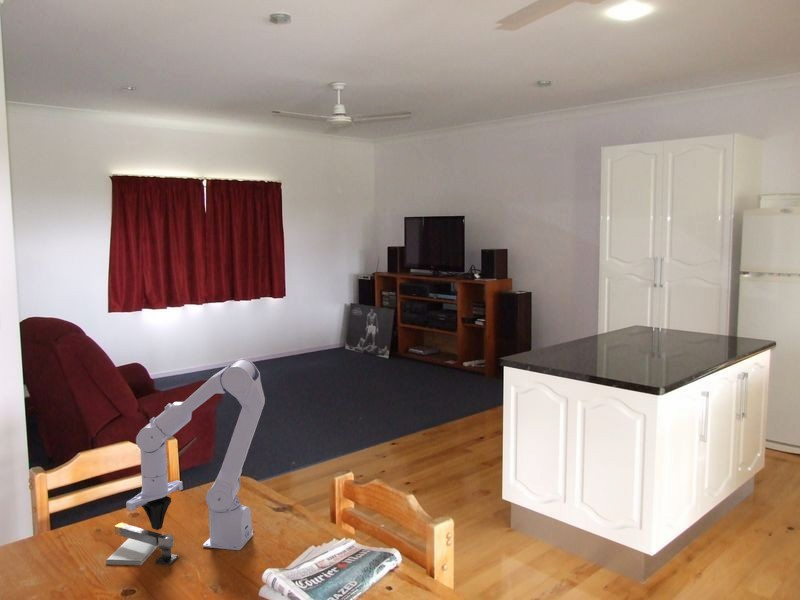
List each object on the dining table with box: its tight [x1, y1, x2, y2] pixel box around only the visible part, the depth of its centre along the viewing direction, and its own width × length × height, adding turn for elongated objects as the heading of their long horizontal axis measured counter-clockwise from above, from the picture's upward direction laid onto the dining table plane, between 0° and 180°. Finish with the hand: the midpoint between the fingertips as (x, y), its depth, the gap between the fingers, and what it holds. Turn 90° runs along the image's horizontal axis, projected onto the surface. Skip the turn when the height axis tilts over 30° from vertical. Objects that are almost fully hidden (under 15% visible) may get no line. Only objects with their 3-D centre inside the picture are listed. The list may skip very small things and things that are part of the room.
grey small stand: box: [154, 548, 179, 566], centre depth 146 cm, size 4×4×3 cm
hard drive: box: [105, 538, 159, 566], centre depth 151 cm, size 2×8×12 cm
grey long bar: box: [113, 522, 175, 551], centre depth 149 cm, size 17×3×2 cm, turn 64°
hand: (157, 528), depth 155 cm, fingers closed
